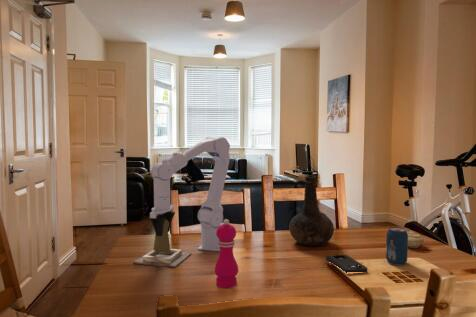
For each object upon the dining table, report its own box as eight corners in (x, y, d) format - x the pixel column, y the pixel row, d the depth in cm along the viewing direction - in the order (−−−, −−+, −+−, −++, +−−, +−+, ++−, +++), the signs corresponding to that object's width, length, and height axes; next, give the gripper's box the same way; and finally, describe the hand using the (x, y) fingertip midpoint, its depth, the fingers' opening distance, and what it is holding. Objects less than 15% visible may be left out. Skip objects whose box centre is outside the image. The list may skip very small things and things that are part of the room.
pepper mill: (214, 279, 117) (213, 216, 115) (237, 278, 118) (237, 216, 116) (214, 289, 110) (214, 222, 108) (239, 288, 110) (239, 221, 109)
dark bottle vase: (342, 244, 153) (343, 176, 150) (311, 252, 142) (312, 180, 140) (310, 234, 167) (311, 172, 165) (280, 241, 157) (280, 175, 155)
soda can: (406, 260, 134) (407, 227, 133) (408, 267, 127) (409, 232, 127) (385, 258, 136) (386, 225, 135) (386, 264, 130) (387, 230, 129)
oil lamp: (409, 239, 161) (410, 227, 160) (433, 249, 147) (434, 236, 146) (387, 240, 159) (388, 228, 158) (409, 251, 145) (410, 238, 144)
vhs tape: (367, 273, 123) (367, 268, 123) (346, 276, 121) (346, 270, 121) (345, 259, 137) (345, 254, 136) (325, 261, 135) (325, 255, 135)
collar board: (191, 254, 141) (191, 249, 140) (174, 267, 127) (174, 261, 127) (153, 251, 145) (152, 245, 145) (133, 263, 132) (133, 257, 131)
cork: (166, 252, 133) (166, 222, 132) (150, 251, 134) (150, 221, 133) (172, 246, 139) (172, 218, 137) (157, 245, 140) (157, 216, 138)
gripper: (161, 192, 142) (162, 227, 143) (141, 199, 129) (142, 238, 130) (178, 193, 140) (179, 229, 141) (160, 200, 127) (160, 239, 128)
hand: (162, 233), depth 135 cm, fingers closed on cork, 5 cm apart
